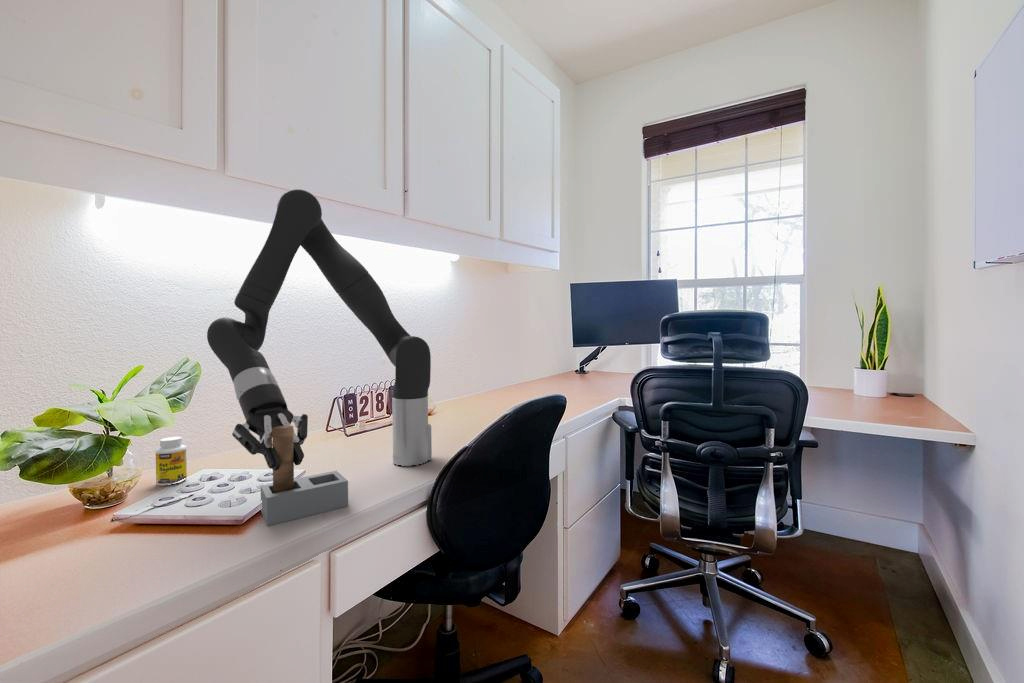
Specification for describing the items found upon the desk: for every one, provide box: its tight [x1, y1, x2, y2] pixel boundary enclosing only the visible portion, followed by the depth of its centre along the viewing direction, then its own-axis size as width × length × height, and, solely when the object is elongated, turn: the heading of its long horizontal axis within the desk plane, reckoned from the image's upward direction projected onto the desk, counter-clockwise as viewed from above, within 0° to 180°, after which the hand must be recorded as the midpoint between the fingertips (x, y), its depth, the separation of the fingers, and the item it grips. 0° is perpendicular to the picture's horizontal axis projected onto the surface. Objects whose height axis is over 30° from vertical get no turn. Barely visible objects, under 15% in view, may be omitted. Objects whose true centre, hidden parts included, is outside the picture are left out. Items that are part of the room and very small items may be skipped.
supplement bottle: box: [155, 436, 188, 486], centre depth 98 cm, size 6×6×10 cm
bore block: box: [260, 470, 349, 527], centre depth 83 cm, size 14×8×5 cm, turn 128°
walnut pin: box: [272, 424, 295, 493], centre depth 81 cm, size 4×4×12 cm
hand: (288, 464), depth 80 cm, fingers closed on walnut pin, 3 cm apart
